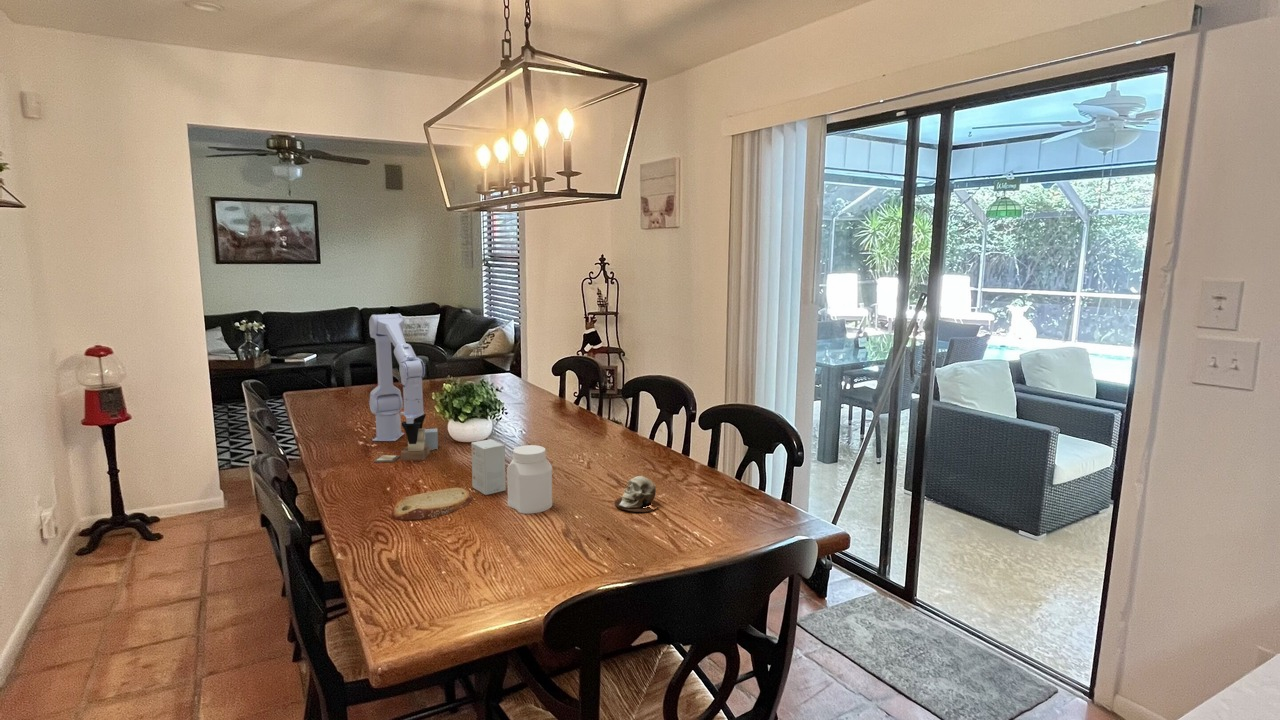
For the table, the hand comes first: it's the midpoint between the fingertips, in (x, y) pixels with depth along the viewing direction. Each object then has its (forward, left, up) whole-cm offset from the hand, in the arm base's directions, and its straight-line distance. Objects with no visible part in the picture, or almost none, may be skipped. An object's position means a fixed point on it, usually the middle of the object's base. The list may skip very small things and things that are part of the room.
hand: (414, 440), depth 215 cm
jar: (+41, +42, -6) cm, 59 cm away
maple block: (0, 0, -3) cm, 3 cm away
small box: (+29, +29, -6) cm, 41 cm away
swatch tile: (+3, -8, -5) cm, 10 cm away
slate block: (-10, +2, -6) cm, 12 cm away
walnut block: (0, 0, -6) cm, 6 cm away
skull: (+40, +70, -6) cm, 81 cm away
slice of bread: (+42, +17, -6) cm, 46 cm away
